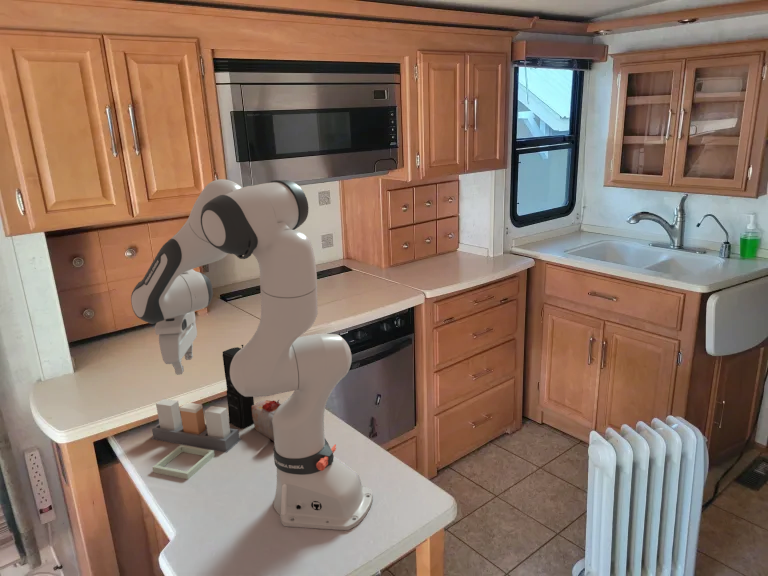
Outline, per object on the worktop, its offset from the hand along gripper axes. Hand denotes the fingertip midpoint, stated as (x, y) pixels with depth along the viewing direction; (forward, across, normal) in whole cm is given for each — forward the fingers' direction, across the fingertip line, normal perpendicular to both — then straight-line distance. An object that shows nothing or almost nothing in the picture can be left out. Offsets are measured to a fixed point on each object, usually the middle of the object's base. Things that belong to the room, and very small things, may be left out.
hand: (184, 365), depth 150 cm
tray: (+23, +12, 0) cm, 26 cm away
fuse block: (+23, 0, 0) cm, 23 cm away
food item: (+23, -1, +22) cm, 32 cm away
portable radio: (+23, -8, +11) cm, 27 cm away
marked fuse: (+22, 0, 0) cm, 22 cm away
